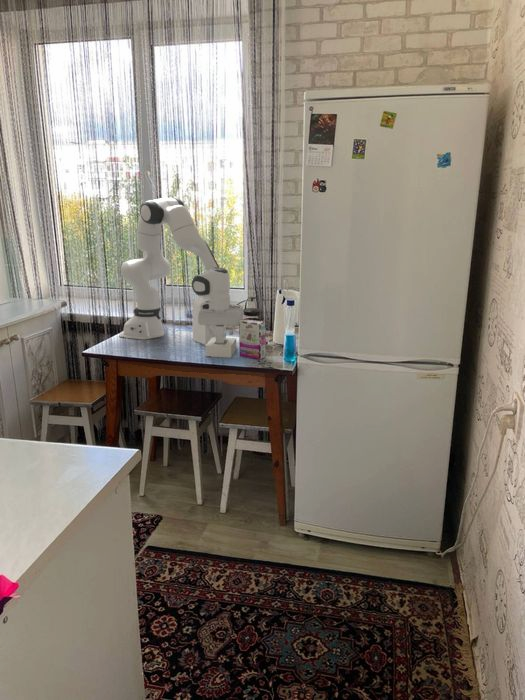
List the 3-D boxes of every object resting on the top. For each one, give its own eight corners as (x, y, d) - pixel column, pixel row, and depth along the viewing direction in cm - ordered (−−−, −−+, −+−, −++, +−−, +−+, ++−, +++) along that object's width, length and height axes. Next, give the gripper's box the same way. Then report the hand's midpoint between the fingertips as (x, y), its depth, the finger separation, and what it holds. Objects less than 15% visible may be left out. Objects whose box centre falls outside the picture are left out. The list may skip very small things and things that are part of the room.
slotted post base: (205, 356, 233) (205, 345, 231) (212, 347, 246) (212, 337, 244) (231, 357, 231) (231, 346, 230) (236, 348, 245) (236, 338, 243)
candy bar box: (266, 357, 231) (266, 321, 227) (260, 360, 227) (260, 324, 222) (244, 353, 237) (244, 318, 232) (238, 356, 233) (238, 320, 228)
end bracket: (216, 354, 236) (215, 326, 232) (218, 350, 242) (218, 323, 238) (223, 354, 236) (223, 326, 232) (226, 350, 241) (225, 323, 237)
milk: (205, 345, 250) (203, 291, 242) (192, 339, 258) (190, 287, 251) (225, 340, 257) (224, 288, 250) (212, 335, 266) (211, 285, 258)
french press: (248, 340, 257) (247, 294, 251) (265, 342, 254) (265, 295, 247) (237, 346, 247) (236, 298, 240) (255, 349, 244) (255, 300, 237)
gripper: (244, 303, 234) (244, 333, 238) (199, 302, 236) (200, 331, 240) (242, 306, 228) (242, 337, 232) (196, 305, 230) (197, 335, 234)
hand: (221, 334), depth 236 cm, fingers open, 8 cm apart
